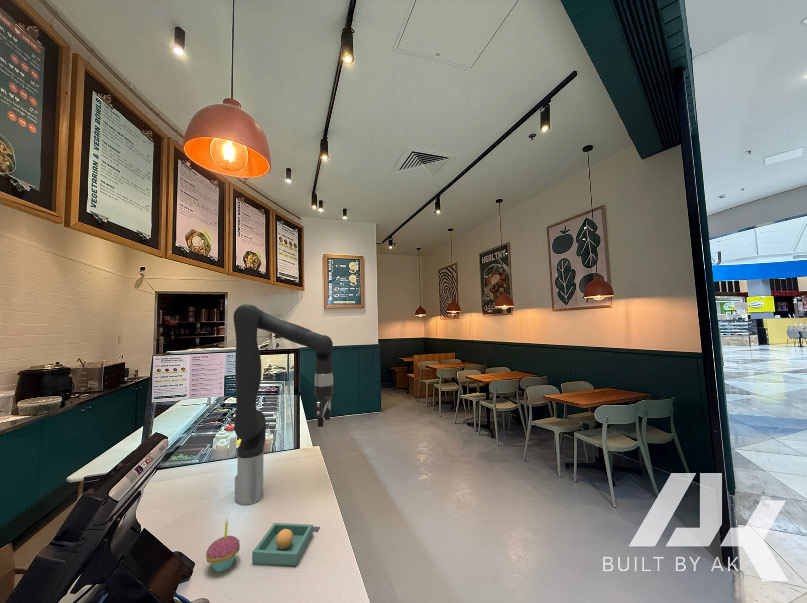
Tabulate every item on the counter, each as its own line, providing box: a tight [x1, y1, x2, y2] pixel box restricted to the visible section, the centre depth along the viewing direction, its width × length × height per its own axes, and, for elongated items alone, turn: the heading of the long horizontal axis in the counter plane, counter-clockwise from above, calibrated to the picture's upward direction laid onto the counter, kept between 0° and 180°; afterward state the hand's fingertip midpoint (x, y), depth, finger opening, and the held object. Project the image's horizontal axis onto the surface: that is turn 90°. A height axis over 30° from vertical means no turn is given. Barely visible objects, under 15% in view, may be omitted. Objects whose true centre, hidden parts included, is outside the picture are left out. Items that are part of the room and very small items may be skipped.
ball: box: [276, 529, 293, 549], centre depth 100 cm, size 5×5×5 cm
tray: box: [251, 522, 314, 568], centre depth 100 cm, size 13×13×4 cm
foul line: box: [313, 526, 321, 533], centre depth 109 cm, size 15×2×1 cm, turn 85°
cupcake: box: [205, 518, 241, 573], centre depth 94 cm, size 9×8×12 cm
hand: (324, 423), depth 136 cm, fingers open, 8 cm apart
